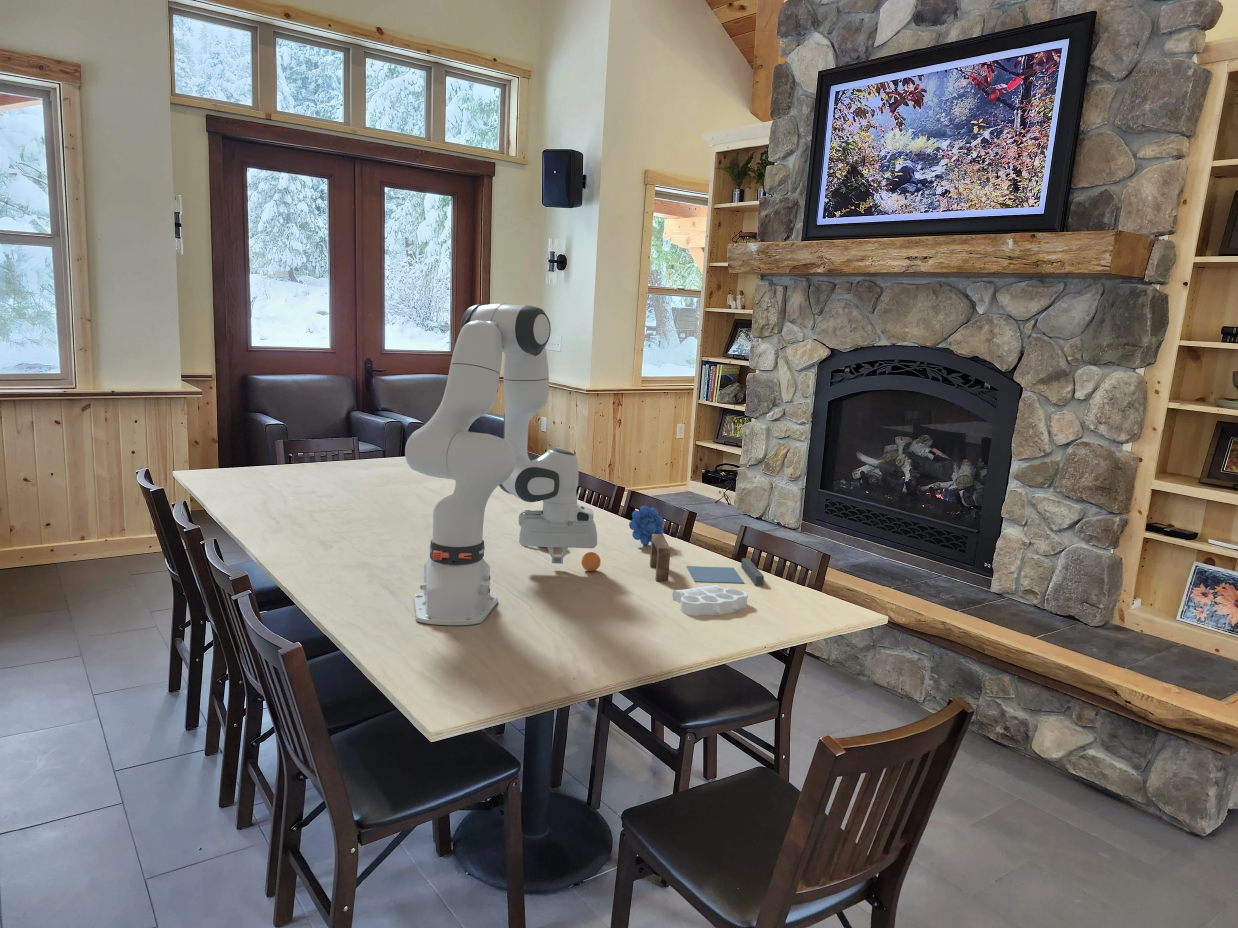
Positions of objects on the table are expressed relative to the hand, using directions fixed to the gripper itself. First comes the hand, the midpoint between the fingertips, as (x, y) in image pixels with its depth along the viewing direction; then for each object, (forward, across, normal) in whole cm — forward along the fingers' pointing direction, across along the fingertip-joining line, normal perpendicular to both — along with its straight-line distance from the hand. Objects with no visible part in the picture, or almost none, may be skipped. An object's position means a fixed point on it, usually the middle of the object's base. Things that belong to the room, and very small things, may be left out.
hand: (557, 562), depth 217 cm
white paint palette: (+2, +36, -24) cm, 43 cm away
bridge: (+2, +27, 0) cm, 27 cm away
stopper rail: (+2, +52, -1) cm, 52 cm away
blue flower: (+2, +27, +26) cm, 37 cm away
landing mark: (+2, +42, -1) cm, 42 cm away
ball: (-1, +9, 0) cm, 9 cm away
